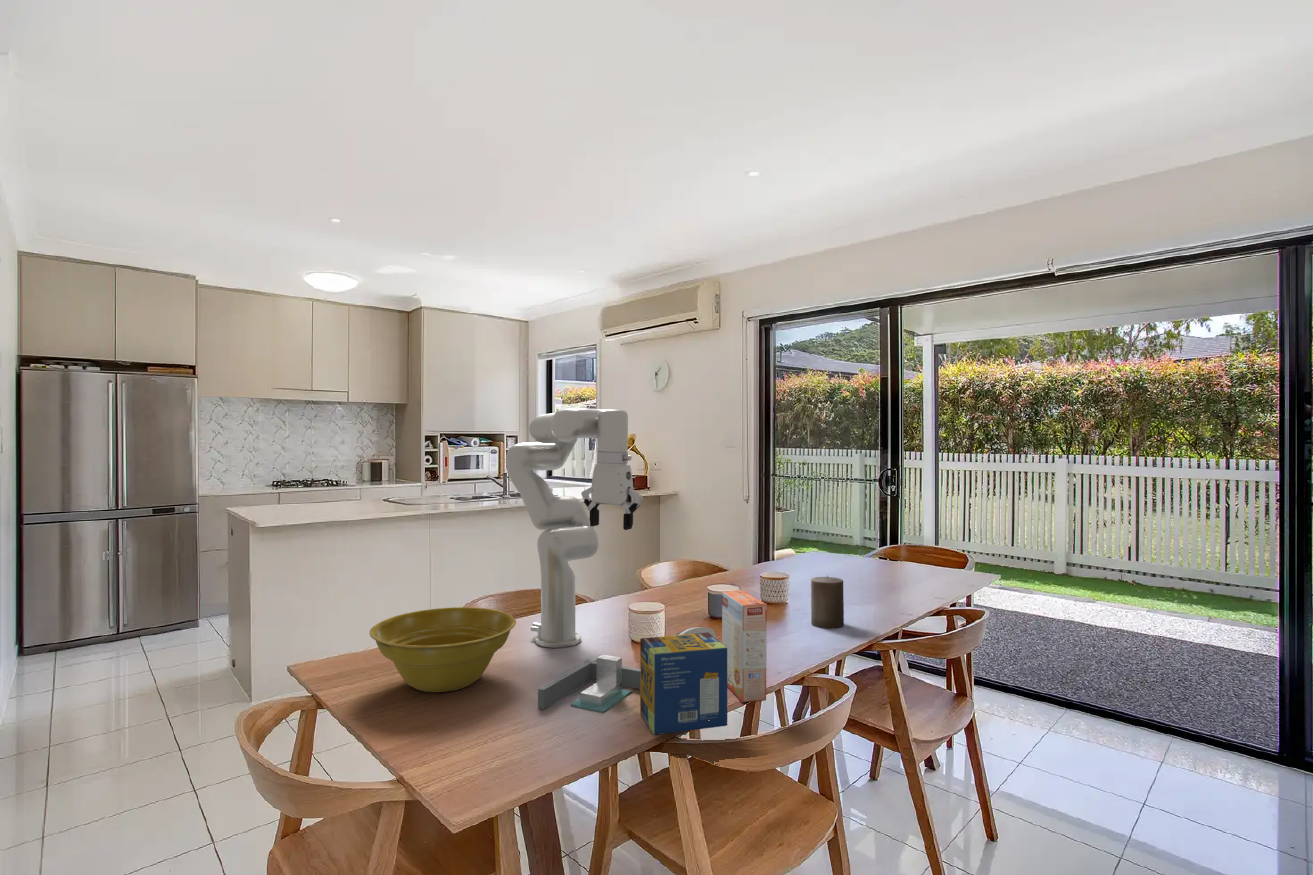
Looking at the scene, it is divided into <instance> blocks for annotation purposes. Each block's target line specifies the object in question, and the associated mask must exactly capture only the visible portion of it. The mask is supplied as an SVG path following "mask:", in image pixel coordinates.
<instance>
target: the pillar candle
mask: <svg viewBox="0 0 1313 875" xmlns="http://www.w3.org/2000/svg"><path fill="white" fill-rule="evenodd" d="M810 606H811V607H810V611H811V612H810V620H811V621H810V622H811V623H810V624H811V625H812V626H814V627H818V628H821V629H822V628H823V629H830V630H831V629H839V628H843V627H844V626H845V616H844V615H845V613H844V612H845V610H844V608H845V607H844V606H845V604H844V580H843V578H839V577H835V576H834V577H833V576H832V577H831V576H829V575H826V576H816V577H812V578H810Z"/></svg>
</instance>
